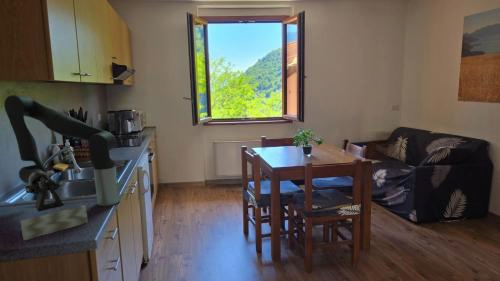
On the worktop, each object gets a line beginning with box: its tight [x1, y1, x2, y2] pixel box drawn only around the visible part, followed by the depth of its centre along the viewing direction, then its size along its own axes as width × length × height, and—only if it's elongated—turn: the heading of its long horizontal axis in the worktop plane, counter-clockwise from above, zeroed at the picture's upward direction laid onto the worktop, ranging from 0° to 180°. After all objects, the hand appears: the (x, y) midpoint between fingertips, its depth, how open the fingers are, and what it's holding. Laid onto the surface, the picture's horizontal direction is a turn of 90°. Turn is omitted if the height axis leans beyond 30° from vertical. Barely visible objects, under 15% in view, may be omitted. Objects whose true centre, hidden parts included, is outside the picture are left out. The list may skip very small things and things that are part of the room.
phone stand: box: [34, 176, 65, 213], centre depth 136 cm, size 9×6×12 cm, turn 130°
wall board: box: [19, 204, 89, 241], centre depth 137 cm, size 22×14×7 cm, turn 131°
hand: (48, 191), depth 133 cm, fingers closed on phone stand, 1 cm apart
